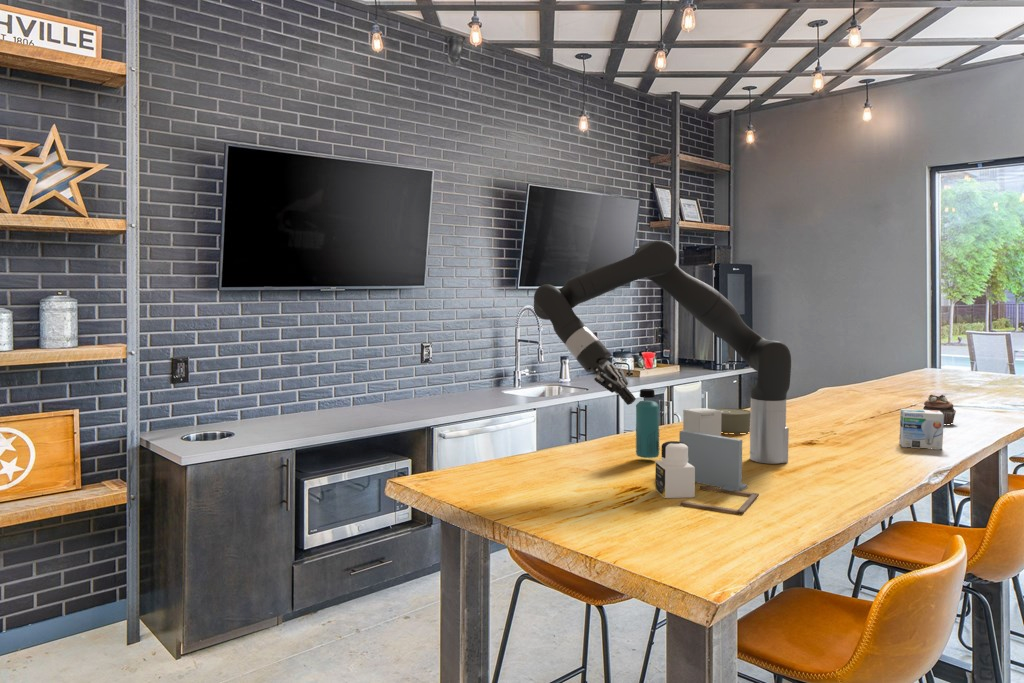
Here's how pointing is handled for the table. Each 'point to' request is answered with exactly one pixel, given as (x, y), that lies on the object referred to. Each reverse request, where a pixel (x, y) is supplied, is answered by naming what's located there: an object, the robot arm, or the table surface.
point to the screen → (715, 459)
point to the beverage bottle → (647, 426)
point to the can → (735, 420)
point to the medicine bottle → (675, 472)
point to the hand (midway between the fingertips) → (632, 402)
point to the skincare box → (702, 421)
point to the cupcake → (941, 407)
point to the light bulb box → (921, 428)
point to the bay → (740, 511)
